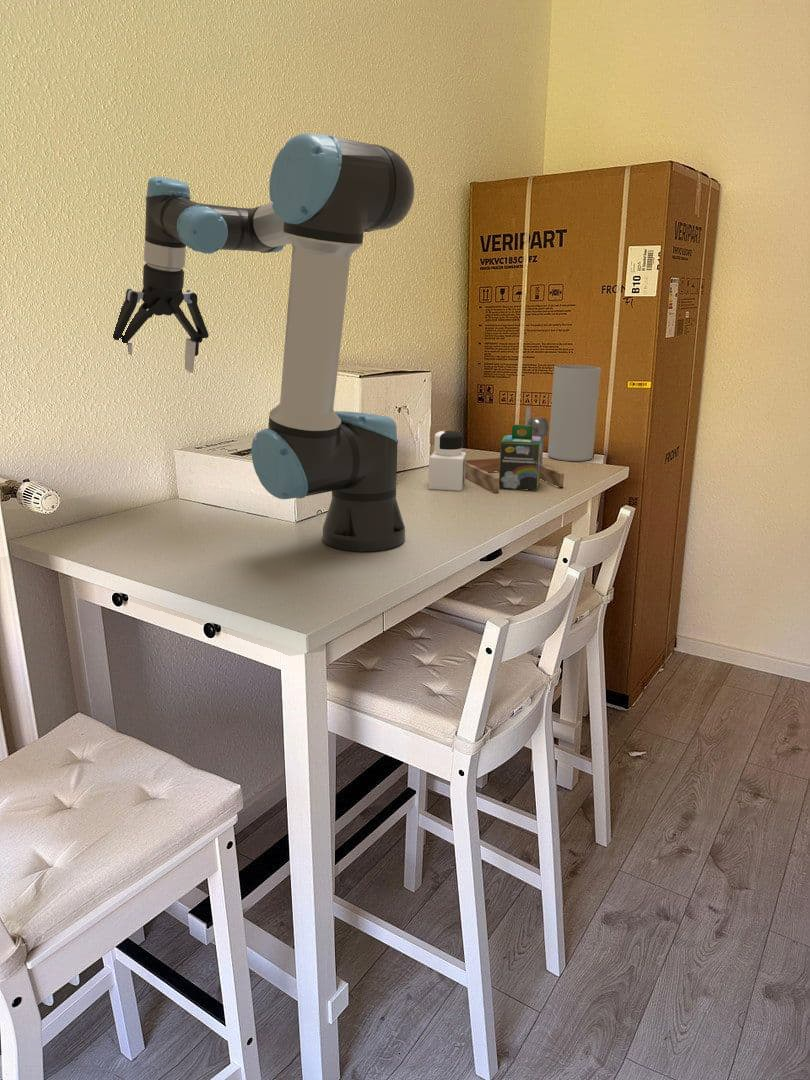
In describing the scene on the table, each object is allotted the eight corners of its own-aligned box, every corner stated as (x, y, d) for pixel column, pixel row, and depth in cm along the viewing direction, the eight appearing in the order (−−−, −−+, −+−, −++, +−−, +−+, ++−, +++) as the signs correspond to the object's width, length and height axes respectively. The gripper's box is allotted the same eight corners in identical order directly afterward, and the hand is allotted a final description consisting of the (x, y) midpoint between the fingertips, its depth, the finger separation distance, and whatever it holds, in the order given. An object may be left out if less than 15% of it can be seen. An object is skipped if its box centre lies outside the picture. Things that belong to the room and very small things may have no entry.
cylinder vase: (543, 452, 225) (549, 364, 218) (585, 453, 226) (593, 365, 219) (553, 461, 214) (560, 369, 206) (598, 462, 214) (607, 369, 207)
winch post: (545, 468, 205) (549, 407, 200) (527, 469, 203) (531, 408, 198) (535, 464, 209) (540, 404, 205) (518, 465, 208) (522, 405, 203)
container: (465, 483, 187) (467, 430, 183) (461, 491, 179) (463, 435, 176) (433, 482, 188) (434, 428, 184) (428, 489, 181) (430, 433, 177)
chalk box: (539, 483, 189) (544, 422, 185) (537, 491, 181) (541, 428, 176) (501, 480, 191) (505, 420, 187) (497, 489, 182) (501, 426, 178)
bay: (562, 488, 184) (564, 473, 183) (494, 493, 178) (495, 478, 177) (520, 469, 203) (521, 456, 202) (457, 473, 197) (458, 460, 196)
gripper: (212, 263, 160) (204, 363, 170) (91, 257, 143) (90, 368, 153) (231, 273, 155) (221, 375, 165) (108, 268, 139) (106, 381, 149)
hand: (158, 372), depth 159 cm, fingers open, 13 cm apart
